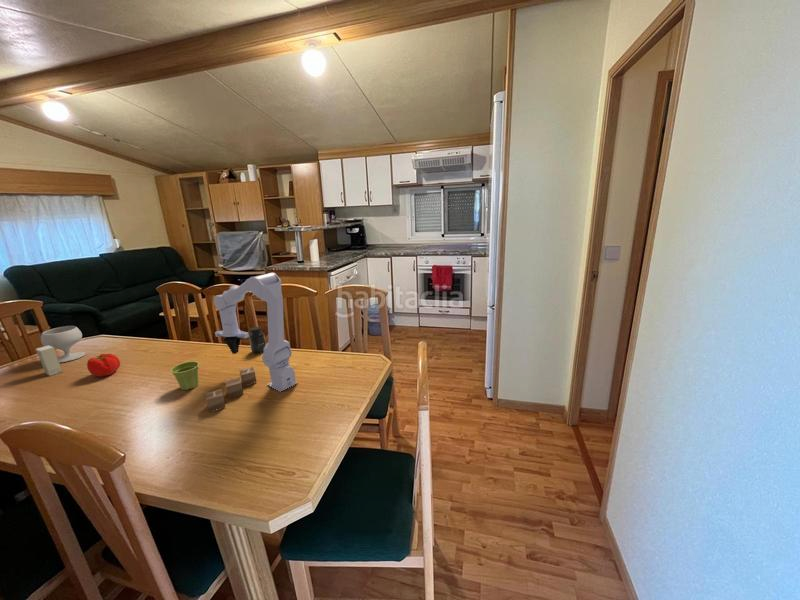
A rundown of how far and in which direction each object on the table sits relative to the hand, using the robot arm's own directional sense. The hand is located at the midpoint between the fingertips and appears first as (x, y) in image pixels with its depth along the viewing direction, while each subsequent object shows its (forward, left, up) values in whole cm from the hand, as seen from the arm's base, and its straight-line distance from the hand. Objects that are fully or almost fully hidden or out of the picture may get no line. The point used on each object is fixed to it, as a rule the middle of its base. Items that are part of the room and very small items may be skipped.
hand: (235, 352), depth 134 cm
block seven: (-11, +1, -10) cm, 15 cm away
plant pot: (+6, +17, -10) cm, 20 cm away
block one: (-18, +17, -10) cm, 26 cm away
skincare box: (+73, +48, -10) cm, 88 cm away
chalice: (+89, +41, -10) cm, 98 cm away
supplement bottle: (+14, -17, -10) cm, 24 cm away
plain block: (-15, +9, -10) cm, 20 cm away
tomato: (+50, +34, -10) cm, 61 cm away
